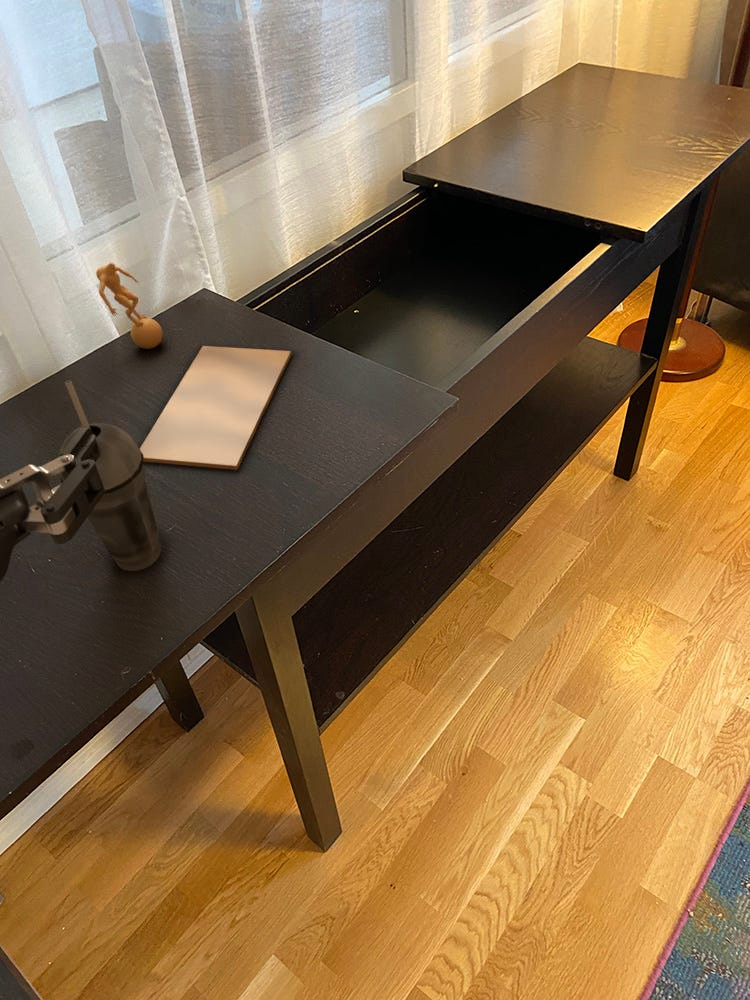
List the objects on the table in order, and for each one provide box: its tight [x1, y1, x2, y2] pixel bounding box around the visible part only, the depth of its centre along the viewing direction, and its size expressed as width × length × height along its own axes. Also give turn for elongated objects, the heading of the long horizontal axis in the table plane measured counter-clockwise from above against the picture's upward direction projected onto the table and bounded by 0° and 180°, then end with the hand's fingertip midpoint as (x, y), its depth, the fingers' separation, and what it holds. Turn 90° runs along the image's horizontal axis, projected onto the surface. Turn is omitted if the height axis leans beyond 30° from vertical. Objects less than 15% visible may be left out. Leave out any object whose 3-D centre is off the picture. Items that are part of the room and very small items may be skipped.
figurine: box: [95, 262, 163, 350], centre depth 100 cm, size 8×6×12 cm
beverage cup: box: [58, 380, 162, 572], centre depth 70 cm, size 7×7×20 cm
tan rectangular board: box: [139, 345, 292, 471], centre depth 94 cm, size 22×12×1 cm, turn 169°
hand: (36, 439), depth 58 cm, fingers open, 8 cm apart
